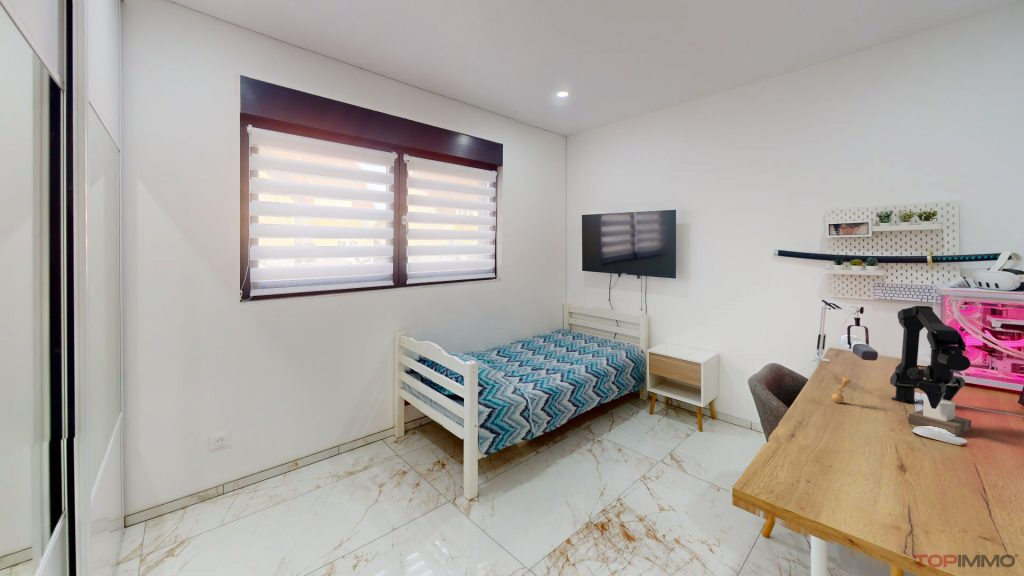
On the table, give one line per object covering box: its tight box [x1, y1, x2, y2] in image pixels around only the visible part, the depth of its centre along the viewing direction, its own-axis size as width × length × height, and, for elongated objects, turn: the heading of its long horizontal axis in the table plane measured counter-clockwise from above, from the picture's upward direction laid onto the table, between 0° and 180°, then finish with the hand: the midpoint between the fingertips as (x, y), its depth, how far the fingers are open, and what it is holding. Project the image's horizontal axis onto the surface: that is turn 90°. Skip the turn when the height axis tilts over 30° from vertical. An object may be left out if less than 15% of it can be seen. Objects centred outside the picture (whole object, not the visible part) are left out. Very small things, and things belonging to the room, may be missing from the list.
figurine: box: [831, 375, 851, 404], centre depth 164 cm, size 8×6×12 cm
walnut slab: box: [907, 409, 972, 436], centre depth 141 cm, size 12×12×4 cm
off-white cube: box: [922, 397, 956, 421], centre depth 141 cm, size 6×6×6 cm
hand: (939, 406), depth 141 cm, fingers open, 9 cm apart
